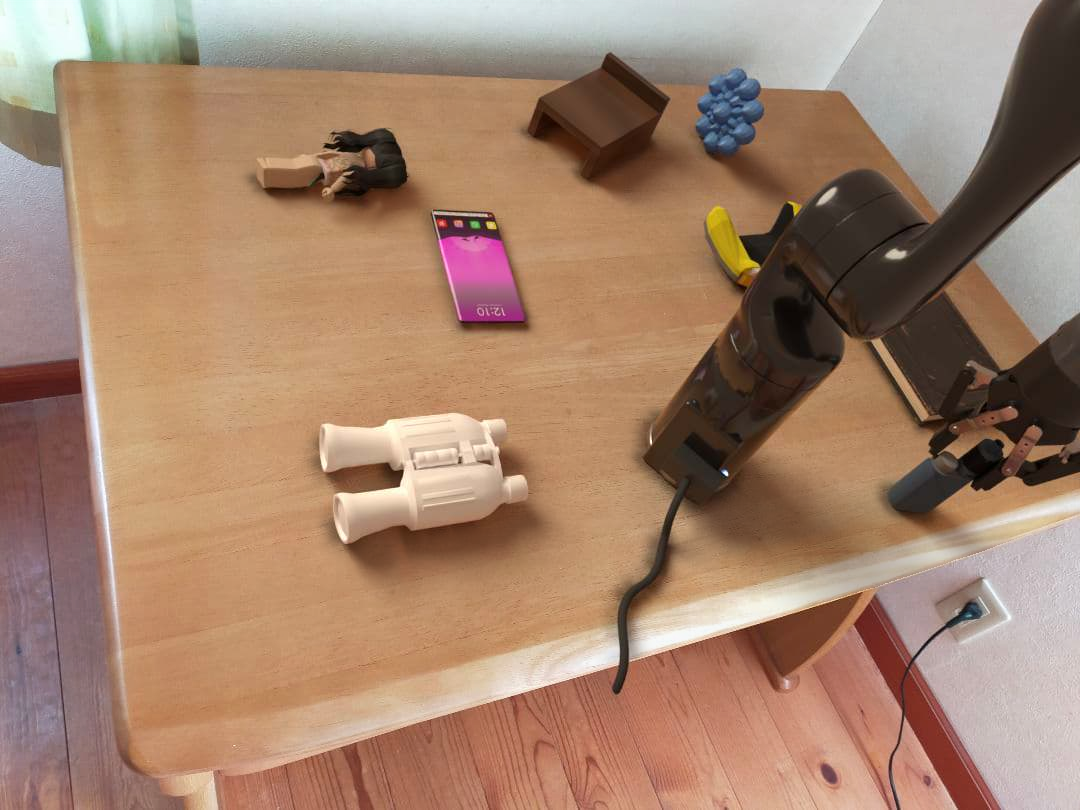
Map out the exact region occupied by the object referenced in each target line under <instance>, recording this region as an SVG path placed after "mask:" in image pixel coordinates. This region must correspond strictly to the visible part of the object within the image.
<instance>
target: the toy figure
mask: <svg viewBox="0 0 1080 810" xmlns="http://www.w3.org/2000/svg"><path fill="white" fill-rule="evenodd" d="M390 129H391V130H392V128H390V127H380V128H375V129H372V130H369V131H366V132H365V133H362V134H361V132H358V131H357V130H355V129H353V131H352V128H351V129H347V130H341V131H340V130H338V129H334V131H332V132H331V133H330V134H329V136H328V138H330V137H331V139H328V140H327V142H324V143H323V147H322V149H328V151H327V150H324V151H321V152H319V153H315V154H306V153H302V154H299V155H297V156H296V157H294V158H293V157H292V158H287V157H286V158H285V157H266V158H264V157H258V158H255V167H256V169H255V170H256V172H255V173H256V179H257V181H258V182H259V184H260V185H261V187H262V188H263V189H266V188H279V189H280V188H281V189H282V188H284V189H295V188H298V189H300V188H304V187H311V186H313V185H315V184H318V183H320V182H321V183H322V185H323V187H324V188H323V189H322V190H321V191H322V192H321V195H322V198H323V200H324V202H330V201H333V200H334V198H336V197H335V195H338V196H340V197H342V200H343V199H344V200H346V197H347V199H348V198H350V196H351V197H352V196H353V197H352V198H355V197H361V199H362V198H364V197H365V196H367V195H368V194H369V193H370V192H373V191H374V190H377V191H378V192H380V191H381V192H382V190H393V191H396V189H399V188H400V189H402V188H403V186H404V185H406V184H407V181H408V178H409V177H410V173H408V171H407V163H406V160H405V158H404V157H403V151H402V148H401V146H400V145H399V143H398V142H397V138H396V135H395V133H394V132H393V131H391V130H390ZM336 131H337V132H336ZM338 131H339V132H338ZM331 135H332V136H331ZM334 136H335V137H334ZM329 140H330V141H329ZM329 142H330V143H329ZM331 142H332V143H331ZM331 184H332V185H331ZM329 185H330V187H326V186H329ZM346 186H355V187H358V188H349V187H346ZM394 189H395V190H394ZM343 197H345V198H343Z"/></svg>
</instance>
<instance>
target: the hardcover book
mask: <svg viewBox="0 0 1080 810" xmlns="http://www.w3.org/2000/svg"><path fill="white" fill-rule="evenodd" d="M866 344H867V345H868V347H869V349H870V351H871V352H872V353H873V355H874V357H875V359H876V360H877V361H878V363H879V365H880V366H881V368H882V369H883V371H884V372H885V374H886V376H887V377H888V379H889V381H890V382H891V384H892V385H893V387H894V388H895V390H896V391H897V393H898V394H899V396H900V398H901V399H902V401H903V403H904V404H905V405H906V407H907V409H908V410H909V412H910V414H911V416H912V417H913V418H914V420H915V422H916V424H917V425H918V426H920V425H921V426H922V425H930V424H936V423H941V422H947V420H946V419H945V418H943V417H941V416H940V415H939V413H938V410H939V408H940V407H941V405H942V403H943V401H944V399H945V398H946V396H947V394H948V392H949V390H950V389H951V387H952V385H953V383H954V381H955V380H956V378H957V376H958V374H959V372H960V371H961V369H962V368H963V366H964V365H965V363H966V362H967V360H968V359H969V358H970V357H977V358H979V359H980V360H981V366H983V367H985V368H987V369H989V370H991V371H994V372H996V373H997V372H999V371H1001V370H1002V369H1001V368H1000V366H999V365H998V364H997V362H996V361H995V359H994V358H993V357H992V355H991V353H990V352H989V351H988V349H987V348H986V347H985V345H984V344H983V343H982V341H981V340H980V338H979V337H978V336H977V334H976V332H975V331H974V329H972V326H971V325H969V323H968V321H967V320H966V318H965V317H964V315H963V314H962V313H961V312H960V310H959V308H958V307H957V306H956V304H955V303H954V302H953V300H952V299H951V297H950V296H949V295H948V293H947V292H946V289H945V290H944V291H943V292H942V293H941V294H939V295H938V296H937V297H936V298H935V299H934V300H933V301H932V302H931V303H930V304H929V305H928V306H926V307H925V308H924V309H923V310H922V311H921V312H919V313H918V314H917V315H916V316H914V317H913V318H912V319H910V320H909V321H908V322H906V323H905V324H904V325H902V326H901V327H900V328H898V329H896V330H894V331H893V332H891V333H889V334H887V335H886V336H884V337H882V338H879V339H876V340H873V341H868V342H866ZM988 390H989V385H988V384H982V385H980V386H979V387H978V388H976V389H968V388H967V390H966V392H965V394H964V395H963V397H962V399H961V401H960V402H959V404H960V406H961V407H962V409H963V410H964V409H967V408H970V407H972V406H975V405H977V404H978V403H979V402H981V401H983V400H985V399H988Z"/></svg>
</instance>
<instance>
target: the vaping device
mask: <svg viewBox="0 0 1080 810" xmlns="http://www.w3.org/2000/svg"><path fill="white" fill-rule="evenodd" d="M1004 448H1005V443H1004V442H1003V441H1002V440H1001V439H999V438H995V439H992V438H983V439H982V440H981V441H979V442H978V443H977V444H976V445H974V446H973V447H972V448H970V449H969V450H968V451H967V452H965V453H964V454H962V455H961V456H960V457H959V458H957V457H956V456H955V455H954V454H953V453H952V452H950V451H949V450H948V451H947V450H942V451H941V452H940V453H938V454H937V455H936V456H933V455H931V457H927V458H925V459H924V460H923V461H921V462H920V463H919V464H918V465H917V466H915V467H914V468H913V469H911V470H910V471H909V472H908V473H906V474H905V475H904V476H902V477H901V478H900V479H899V480H898V481H896V482H895V483H894V484H893V485H892V486H890V488H889V491H888V493H887V499H888V501H889V503H890V504H891V506H892V507H894V508H895V509H896V510H899V511H900V510H901V511H905V512H911V513H916V514H921V515H927V514H929V513H930V512H932V511H933V510H934V509H936V508H937V507H939V505H941V504H942V503H944V502H945V501H946V500H948V499H949V498H951V497H952V496H953V495H955V494H956V493H958V492H960V490H962V489H963V488H965V487H966V486H967V485H968V484H970V483H972V482H973V480H974V478H975V477H977V476H978V475H979V474H981V473H982V472H984V471H985V470H986V469H988V468H989V467H990V466H992V465H993V464H994V463H995V462H997V461H999V460H1000V459H1001V458H1002V457H1004V451H1003V449H1004Z"/></svg>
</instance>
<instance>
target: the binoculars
mask: <svg viewBox="0 0 1080 810" xmlns="http://www.w3.org/2000/svg"><path fill="white" fill-rule="evenodd" d="M508 435H509V433H508V426H507V424H506V421H505V420H504V419H503V418H495V419H484V420H482V421H478V420H477V419H475V418H473V417H471V416H469V415H467V414H463V413H457V412H450V413H440V414H432V415H422V416H412V417H404V418H403V417H402V418H395V419H388V420H387V421H386V423H384V424H383V425H381V426H380V425H379V426H375V427H359V426H342V425H337V424H334V423H333V424H332V423H322V424H321V426H320V430H319V438H318V439H319V440H318V443H319V446H318V447H319V458H320V464H321V469H322V471H323V472H324V473H333V472H336V471H338V470H341V469H345V468H346V469H347V468H354V467H359V466H369V465H377V464H385V463H388V464H389V466H390V468H391V470H392V471H394V472H396V471H403V474H402V478H401V480H400V484H399V487H398V486H397V487H392V488H391V487H390V488H385V489H378V490H371V491H365V492H357V493H351V492H339V493H335V494H334V495H333V498H332V515H333V520H334V524H335V529H336V531H337V534H338V536H339V538H340V541H341V542H342V543H343V544H344V545H348V544H352V543H354V542H356V541H358V540H359V539H361V538H362V537H365V536H368V535H372V534H374V533H377V532H381V531H383V530H386V529H388V528H391V527H398V526H399V527H400V526H406V527H407V528H408V529H409V531H412V532H413V531H418V530H427V529H431V528H438V527H443V526H449V525H454V524H461V523H469V522H473V521H480V520H482V519H484V518H486V517H488V516H490V515H491V514H493V512H494V511H496V510H497V509H498V508H499V506H500V505H502V504H504V503H505V504H506V505H509V504H513V503H519V502H526V500H527V499H528V497H529V485H528V482H527V479H526V477H525V476H524V475H523V474H516V475H508V476H503V470H502V465H501V461H500V457H499V455H500V448H499V446H498V445H504V444H507V441H508V438H509V436H508ZM482 461H483V462H485V461H489V462H490V464H488V463H483V462H482Z"/></svg>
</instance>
